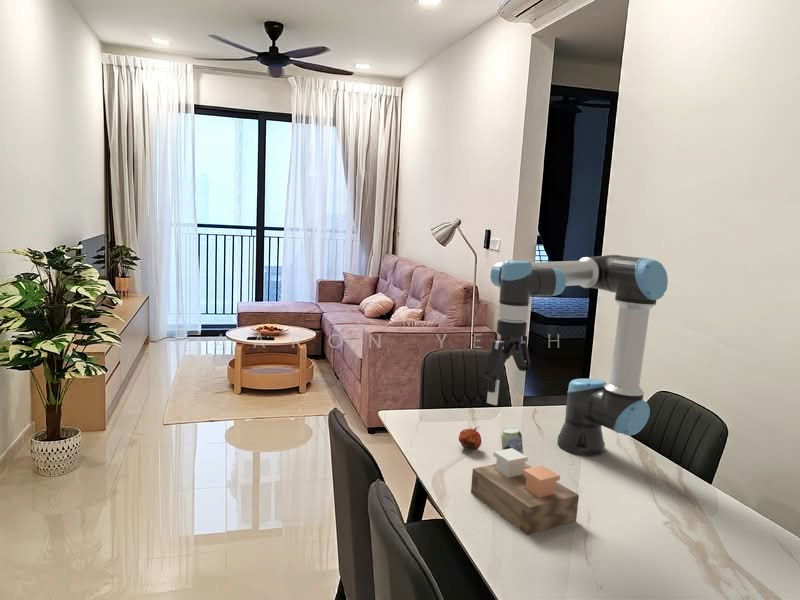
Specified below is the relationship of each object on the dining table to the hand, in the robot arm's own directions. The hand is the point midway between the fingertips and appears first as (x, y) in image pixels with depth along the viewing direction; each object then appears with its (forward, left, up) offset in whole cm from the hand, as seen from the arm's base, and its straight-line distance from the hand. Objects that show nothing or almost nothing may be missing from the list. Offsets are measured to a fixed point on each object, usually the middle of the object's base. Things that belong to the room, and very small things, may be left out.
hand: (505, 398), depth 160 cm
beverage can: (-14, -12, -27) cm, 33 cm away
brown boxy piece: (-1, +8, -27) cm, 28 cm away
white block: (-1, +2, -23) cm, 23 cm away
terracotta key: (-1, +14, -23) cm, 27 cm away
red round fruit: (-10, -28, -27) cm, 40 cm away
